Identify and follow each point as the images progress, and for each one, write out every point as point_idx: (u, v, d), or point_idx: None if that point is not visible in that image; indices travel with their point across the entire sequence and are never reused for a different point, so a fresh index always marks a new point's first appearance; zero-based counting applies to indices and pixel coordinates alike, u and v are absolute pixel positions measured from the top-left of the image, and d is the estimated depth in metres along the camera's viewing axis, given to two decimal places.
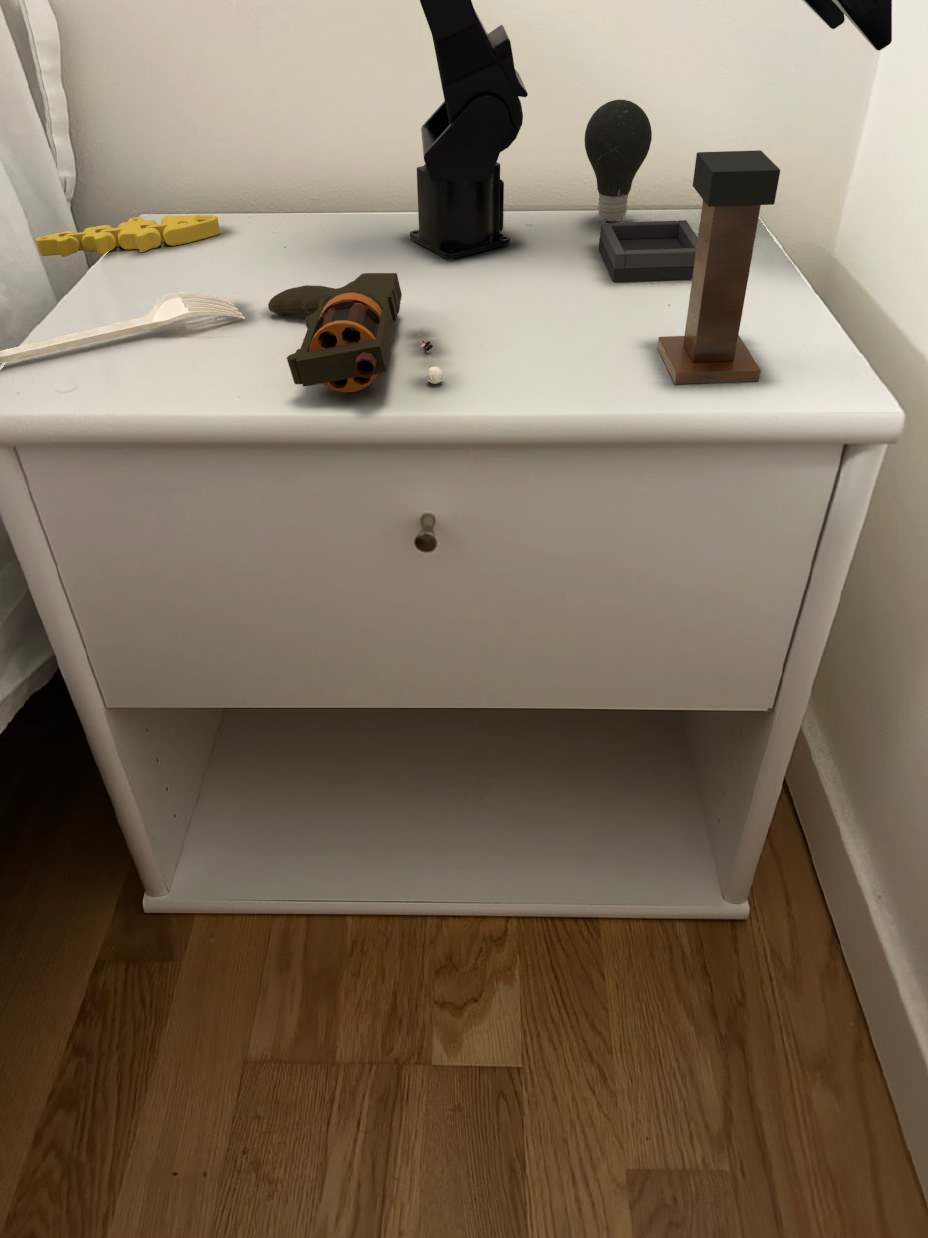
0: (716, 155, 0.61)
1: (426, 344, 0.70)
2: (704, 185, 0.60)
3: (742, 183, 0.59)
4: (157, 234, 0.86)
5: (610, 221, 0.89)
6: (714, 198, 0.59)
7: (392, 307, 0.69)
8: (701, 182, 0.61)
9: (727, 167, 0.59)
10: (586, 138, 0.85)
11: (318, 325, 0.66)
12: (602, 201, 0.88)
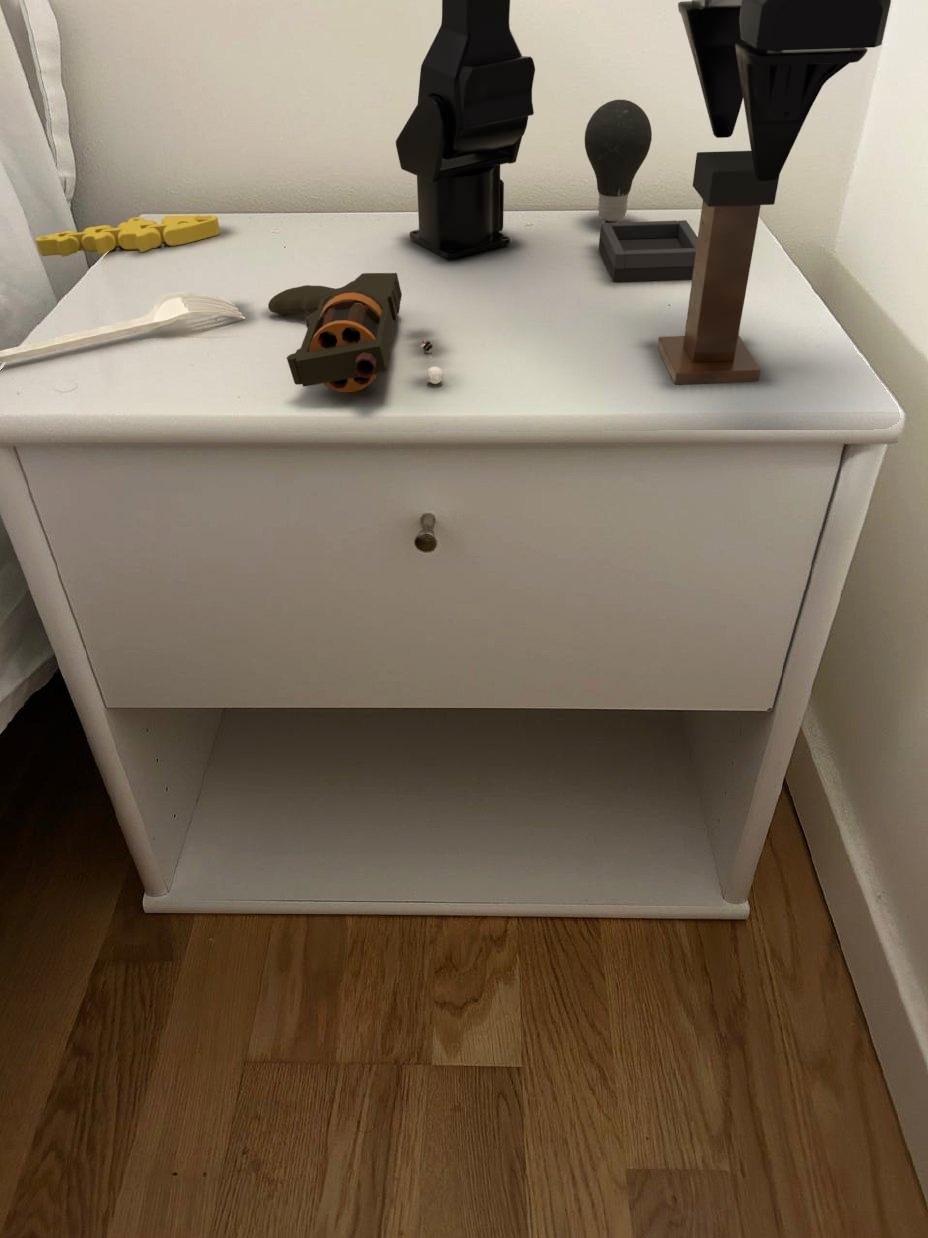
0: (716, 155, 0.61)
1: (426, 344, 0.70)
2: (704, 185, 0.60)
3: (742, 183, 0.59)
4: (157, 234, 0.86)
5: (610, 221, 0.89)
6: (714, 198, 0.59)
7: (392, 307, 0.69)
8: (701, 182, 0.61)
9: (727, 167, 0.59)
10: (586, 138, 0.85)
11: (318, 325, 0.66)
12: (602, 201, 0.88)
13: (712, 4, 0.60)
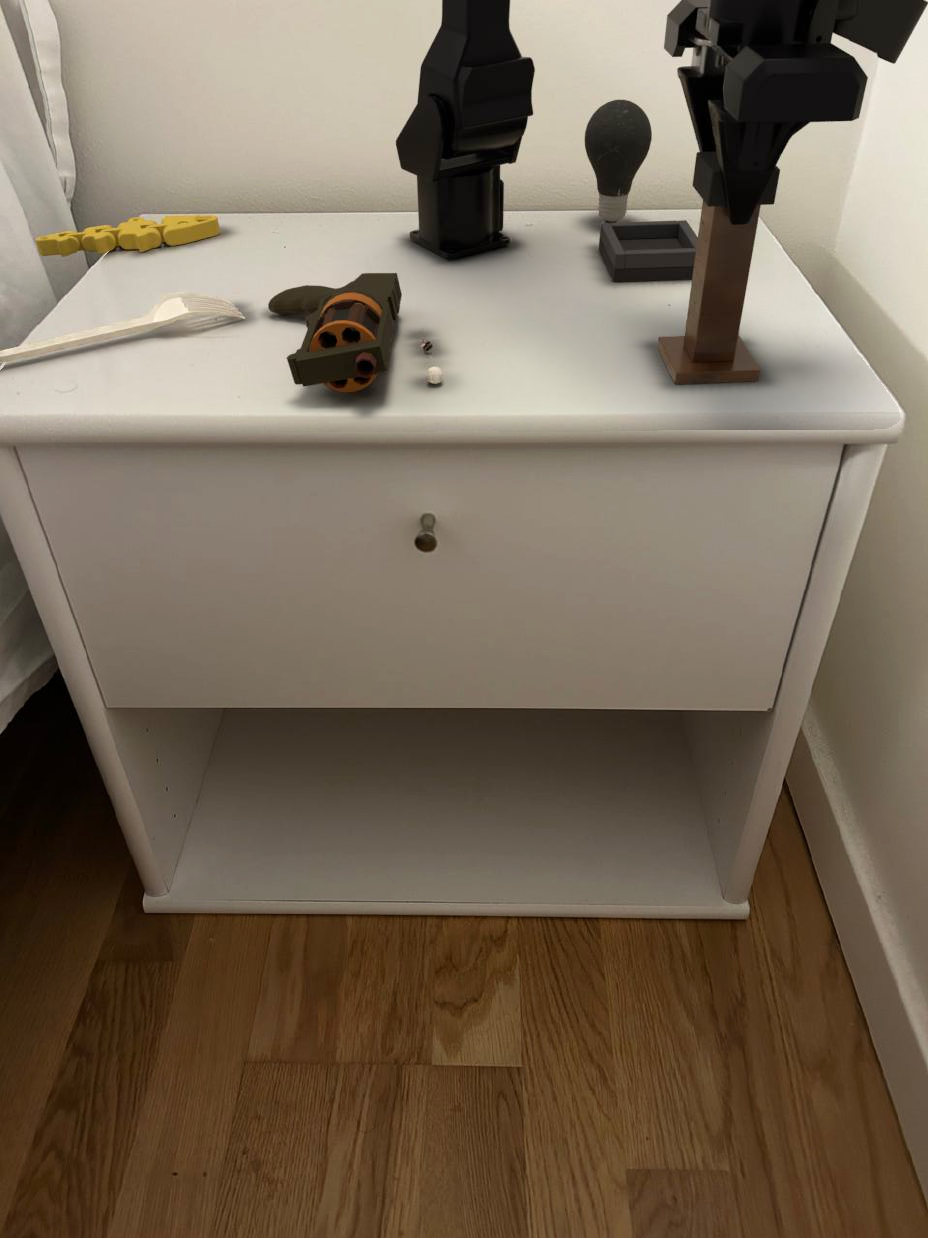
0: (716, 154, 0.61)
1: (426, 344, 0.70)
2: (704, 185, 0.60)
3: None
4: (157, 234, 0.86)
5: (610, 221, 0.89)
6: (714, 198, 0.59)
7: (392, 307, 0.69)
8: (701, 182, 0.61)
9: None
10: (586, 138, 0.85)
11: (318, 325, 0.66)
12: (602, 201, 0.88)
13: (711, 72, 0.60)
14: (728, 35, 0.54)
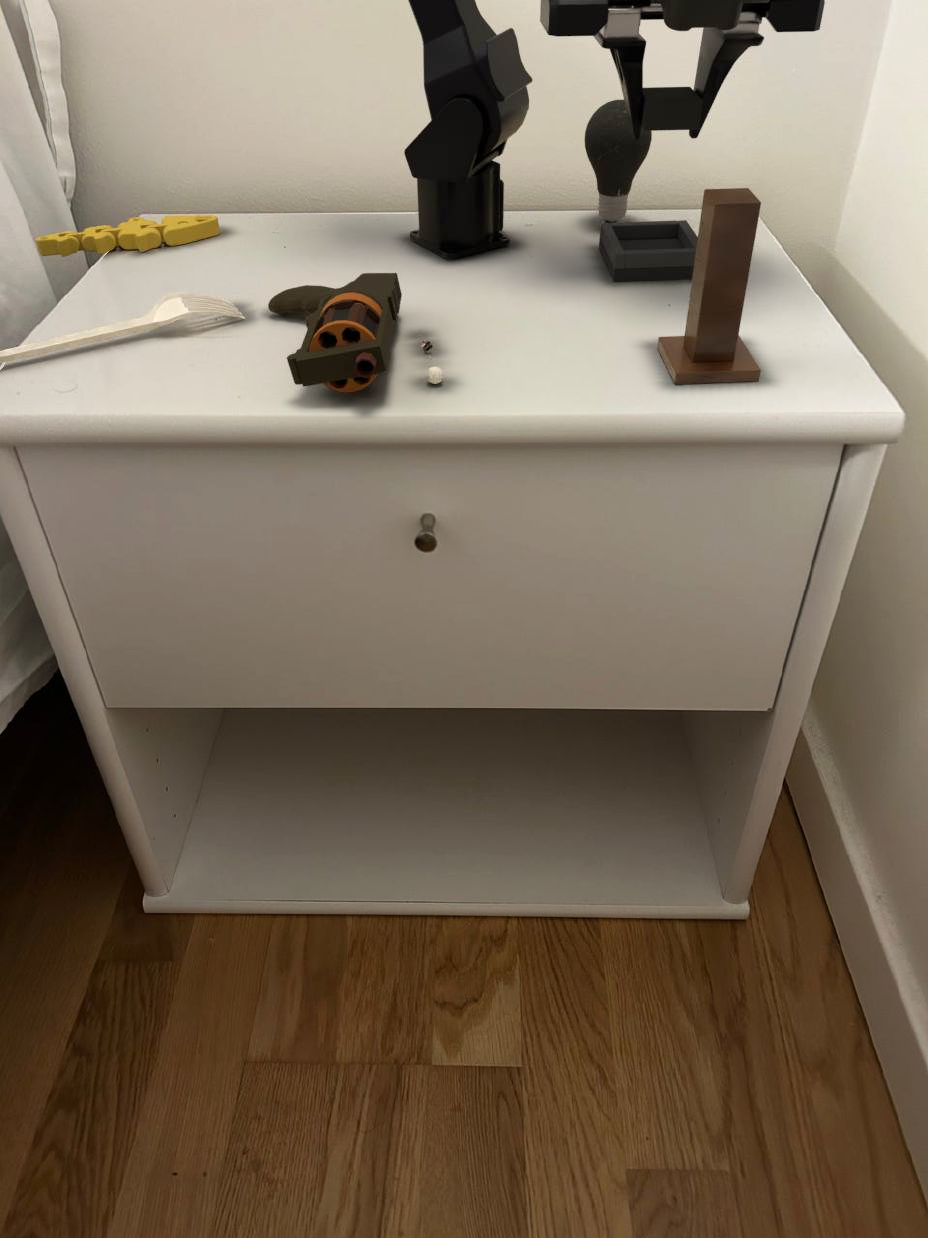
0: (682, 89, 0.74)
1: (426, 344, 0.70)
2: None
3: None
4: (157, 234, 0.86)
5: (610, 221, 0.89)
6: None
7: (392, 307, 0.69)
8: None
9: (647, 90, 0.74)
10: (586, 138, 0.85)
11: (318, 325, 0.66)
12: (602, 201, 0.88)
13: None
14: None
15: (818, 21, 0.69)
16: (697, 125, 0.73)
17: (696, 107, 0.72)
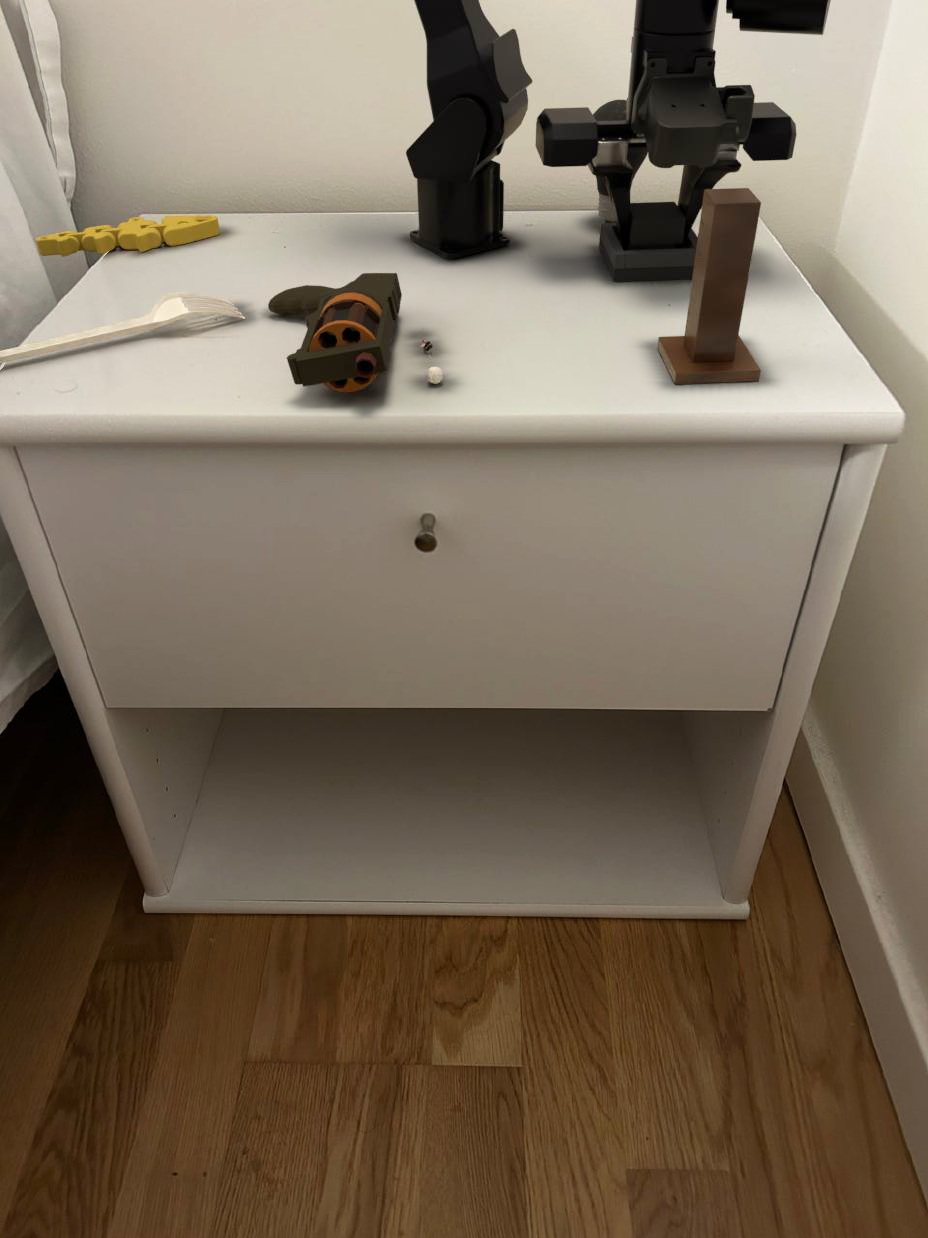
0: (667, 205, 0.80)
1: (426, 344, 0.70)
2: None
3: None
4: (157, 234, 0.86)
5: (610, 221, 0.89)
6: None
7: (392, 307, 0.69)
8: None
9: (635, 206, 0.80)
10: None
11: (318, 325, 0.66)
12: (602, 201, 0.88)
13: None
14: None
15: (790, 151, 0.75)
16: (681, 240, 0.79)
17: (680, 224, 0.79)
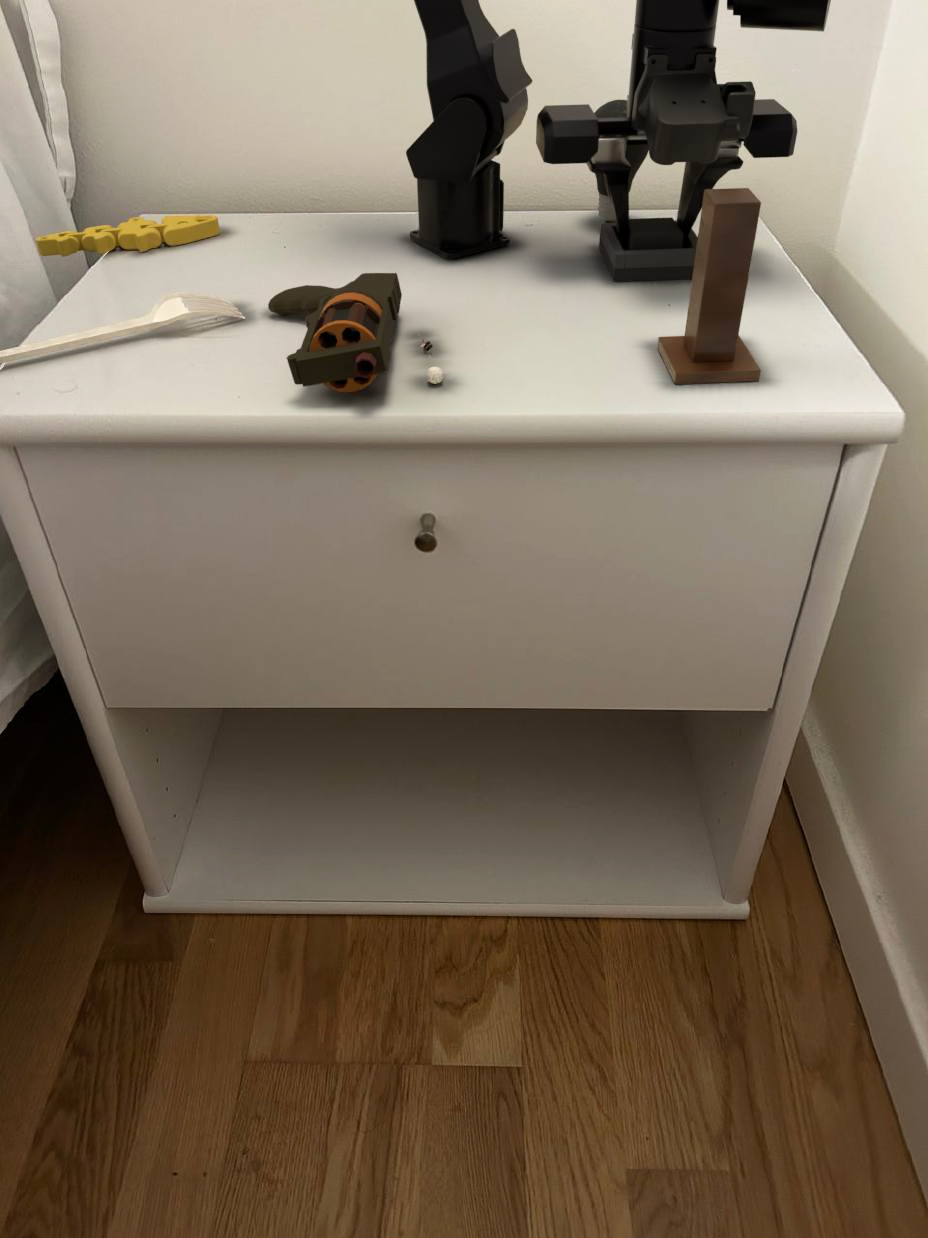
0: (665, 221, 0.81)
1: (426, 344, 0.70)
2: None
3: None
4: (157, 234, 0.86)
5: (610, 221, 0.89)
6: None
7: (392, 307, 0.69)
8: None
9: (633, 222, 0.81)
10: None
11: (318, 325, 0.66)
12: (602, 201, 0.88)
13: None
14: (628, 104, 0.77)
15: (791, 147, 0.75)
16: None
17: (678, 240, 0.79)
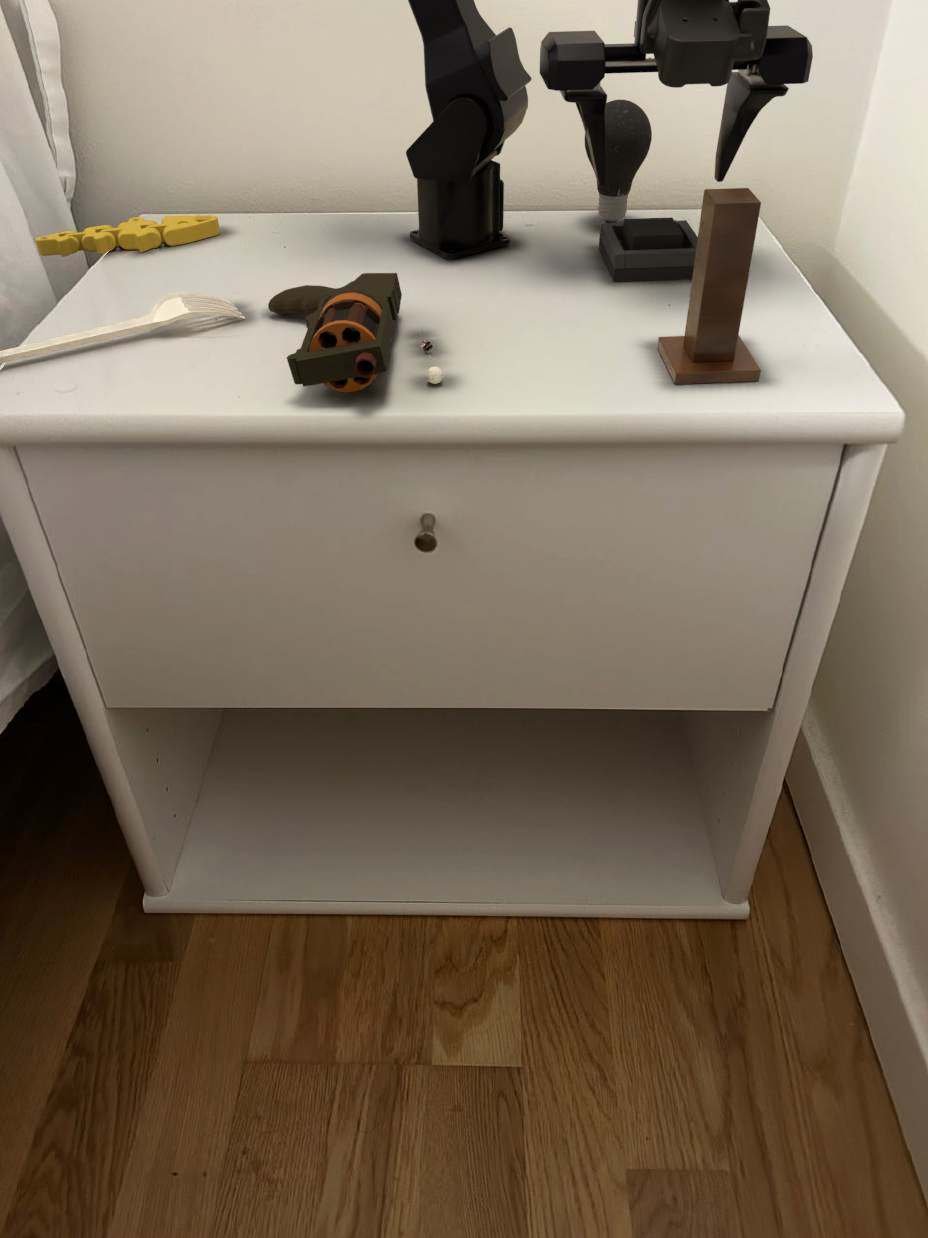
0: (665, 221, 0.81)
1: (426, 344, 0.70)
2: None
3: (627, 235, 0.81)
4: (157, 234, 0.86)
5: (610, 221, 0.89)
6: (622, 239, 0.83)
7: (392, 307, 0.69)
8: None
9: (633, 222, 0.81)
10: (586, 138, 0.85)
11: (318, 325, 0.66)
12: (602, 201, 0.88)
13: (739, 74, 0.75)
14: None
15: (807, 73, 0.71)
16: None
17: (678, 240, 0.79)
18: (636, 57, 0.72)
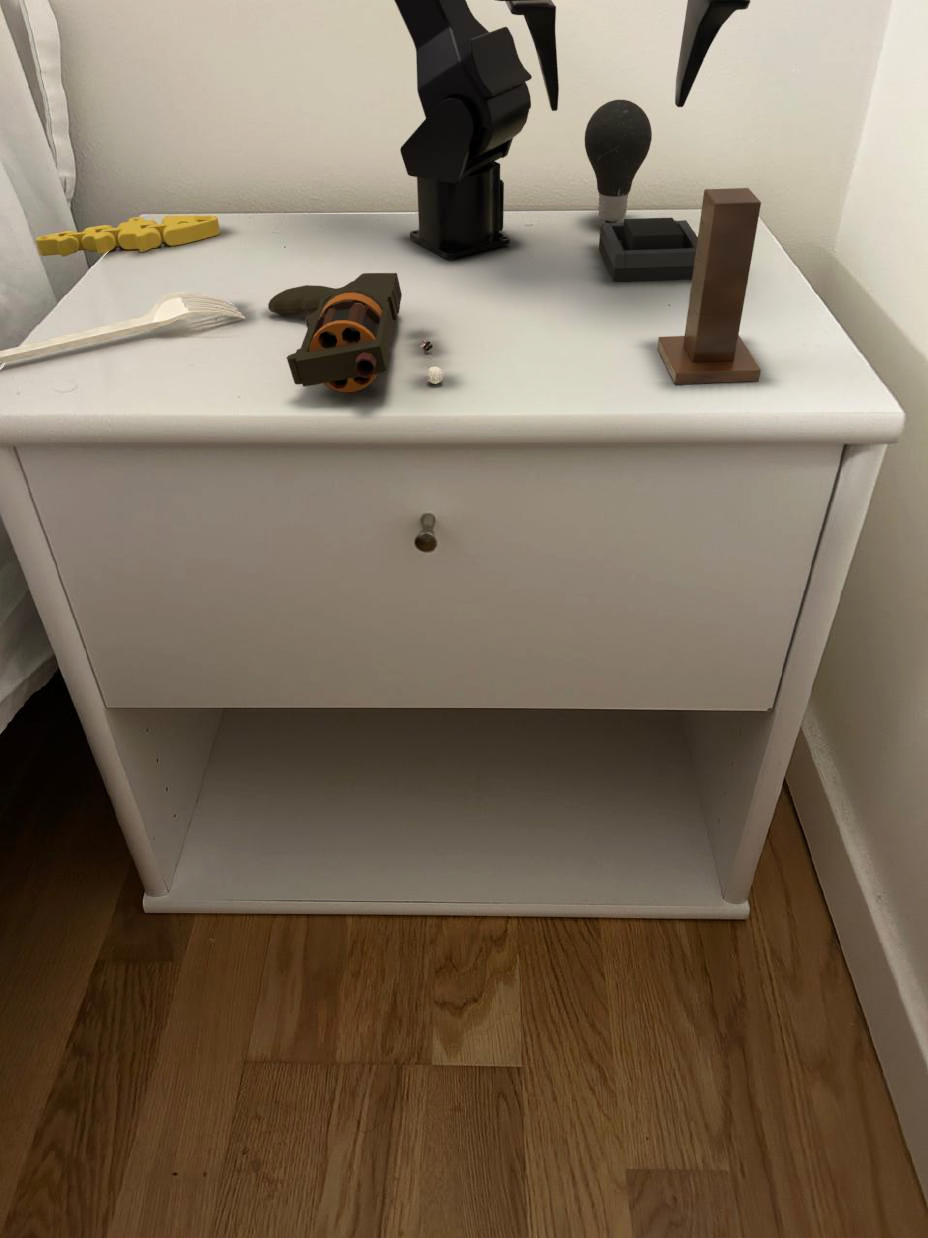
0: (665, 221, 0.81)
1: (426, 344, 0.70)
2: None
3: (627, 235, 0.81)
4: (157, 234, 0.86)
5: (610, 221, 0.89)
6: (622, 239, 0.83)
7: (392, 307, 0.69)
8: None
9: (633, 222, 0.81)
10: (586, 138, 0.85)
11: (318, 325, 0.66)
12: (602, 201, 0.88)
13: None
14: None
15: None
16: None
17: (678, 240, 0.79)
18: None
